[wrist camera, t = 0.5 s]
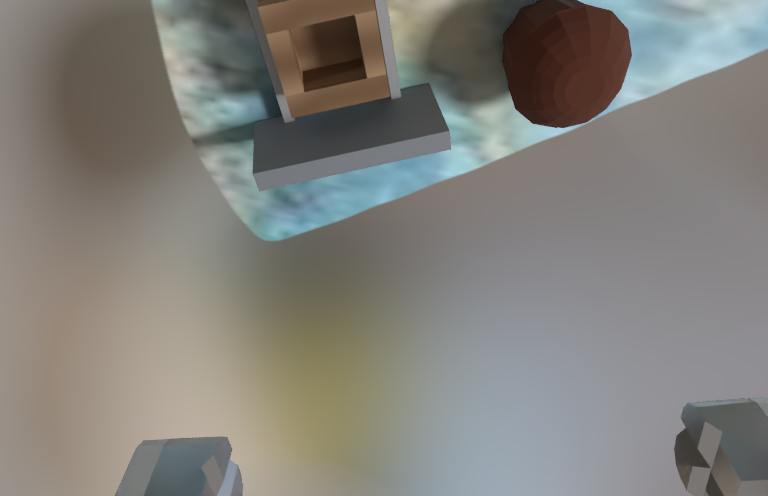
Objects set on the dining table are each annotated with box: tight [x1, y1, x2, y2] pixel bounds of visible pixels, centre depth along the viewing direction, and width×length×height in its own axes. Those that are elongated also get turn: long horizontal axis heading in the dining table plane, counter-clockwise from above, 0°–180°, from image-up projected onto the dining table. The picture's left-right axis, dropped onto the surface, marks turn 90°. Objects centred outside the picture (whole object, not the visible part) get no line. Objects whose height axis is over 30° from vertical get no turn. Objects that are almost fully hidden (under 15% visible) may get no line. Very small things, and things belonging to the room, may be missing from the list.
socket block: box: [257, 0, 390, 118], centre depth 51 cm, size 10×9×6 cm
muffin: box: [502, 0, 632, 128], centre depth 53 cm, size 12×11×10 cm
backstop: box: [245, 0, 451, 191], centre depth 51 cm, size 16×18×9 cm
